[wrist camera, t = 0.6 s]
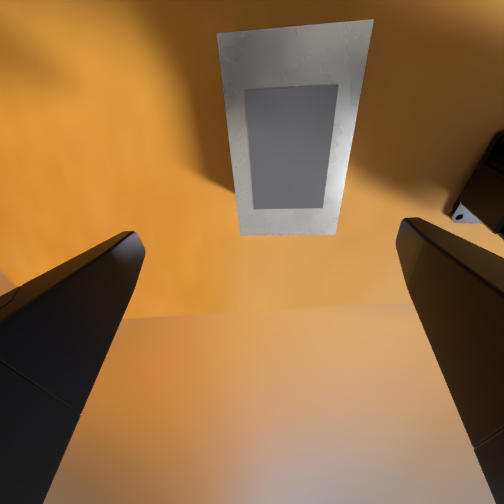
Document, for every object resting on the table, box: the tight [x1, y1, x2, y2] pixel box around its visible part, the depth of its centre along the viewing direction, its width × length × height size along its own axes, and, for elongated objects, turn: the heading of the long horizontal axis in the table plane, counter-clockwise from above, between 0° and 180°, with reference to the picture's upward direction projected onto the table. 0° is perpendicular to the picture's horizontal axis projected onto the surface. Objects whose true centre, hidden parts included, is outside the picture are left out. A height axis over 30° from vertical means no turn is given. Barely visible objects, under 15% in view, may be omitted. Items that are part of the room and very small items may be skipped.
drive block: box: [216, 19, 374, 236], centre depth 15 cm, size 6×10×5 cm, turn 4°
